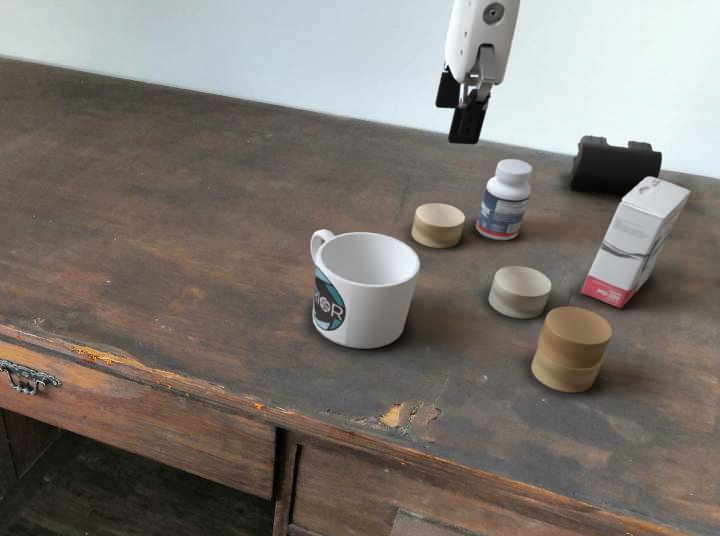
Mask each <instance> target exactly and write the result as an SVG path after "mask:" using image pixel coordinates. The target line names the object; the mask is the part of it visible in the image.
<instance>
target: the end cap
mask: <svg viewBox="0 0 720 536" xmlns="http://www.w3.org/2000/svg"><path fill="white" fill-rule="evenodd" d="M607 140H608V139H607V137H603V136H596V135H595V136H594V135H593V134H591V135H584V136H582V137H581V138H580V141H579V142H578V143H577V153H576V155H575V156H574V157H573V158H572V168H571V170H570V171H571V172H570V173H569V175H568V180H567V185H568V187H569V190H573V191H580V192H586V193H592V194H594V193H595V194H602V195H607V196H615V197H622V198H623V197H624V196H625V195H626V194H627V193H629V192H630V191H631V190H632V189H633V188H634V187H635V186H637V185H638V184H639V183H640V182H641V181H642V180H644V178H646V177H655V178H658V179H659V176H660V172H661V169H662V164H663V163H662V162H663V153H662V152H661V151H658V150H657V151H655V150H654V149H653V147H652V144H651V143H649V142H646V141H642V142H641V141H636V140H628V142H627V147H625V146H617V145H611V144H609V143H608V141H607Z"/></svg>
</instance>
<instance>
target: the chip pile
mask: <svg viewBox="0 0 720 536" xmlns="http://www.w3.org/2000/svg"><path fill="white" fill-rule="evenodd" d="M612 335H613V330H612V326H611V325H610V323H609V322H608V321H607V320H606V319H605V318H604V317H603V316H601V315H599V314H597V313H596V312H594V311H591V310H588V309H586V308H583V307H577V306H560V307H555V308H553V309H552V310H550V311H549V312H548V313H547V315H546V317H545V319H544V323H543V324H542V327H541V330H540V333H539V336H538V338H537V348H536V351H535V353H534V356H533V359H532V362H531V366H530V367H531V372H532V374H533V376H534V377H535V378H536V379H537V380H538V381H539V382H540V383H541V384H543V385H544V386H546V387H548V388H549V389H552V390H555V391H559V392H563V393H569V394H571V393H573V394H574V393H575V394H576V393H582V392H585V391H587V390H589V389H591V387H593V385H594V383H595V381H596V378H597V377H598V374H599V372H600V370H601V367H602V365H603V362H604V359H605V356H604V354H605V352H606V349H607V348H608V345H609V343H610V340H611V338H612Z"/></svg>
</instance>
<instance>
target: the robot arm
mask: <svg viewBox="0 0 720 536" xmlns="http://www.w3.org/2000/svg"><path fill="white" fill-rule="evenodd" d="M521 1H522V0H454V4H453V6H452V11H451V15H450V19H449V24H448V30H447V35H446V39H445V48H444V57H445V60H444V63H443V68H442V69H443V70H442V71H441V75H440V79H439V83H438V88H437V93H436V98H435V103H434V104H435V107H436V108H438V109H454V110H453V115H452V119H451V123H450V128H449V130H448V131H449V132H448V136H447V140H448V143H449V144H456V145H457V144H458V145H477V144H478V143H479V141H480V136H481V133H482V129H483V126H484V122H485V117H486V114H487V111H488V107H489V104H490V103H489V102H490V99H491V97H492V95H491V94H492V93H491V91H492V88H493V87H494V86H500V85H501V84H502V83H503V82H504V80H505V76H506V72H507V67H508V62H509V59H510V55H511V50H512V45H513V40H514V36H515V33H516V32H515V31H516V28H517V22H518V17H519V12H520V6H521ZM469 87H475V88H472V89H471V90H470V91H469Z"/></svg>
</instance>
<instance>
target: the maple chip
mask: <svg viewBox="0 0 720 536" xmlns="http://www.w3.org/2000/svg"><path fill="white" fill-rule="evenodd" d="M465 220H466V215H465V214H464V213H463V212H462V211H461V210H460V209H458V208H456V207H455V206H453V205H450V204H445V203H438V202H430V203H426V204H421V205H420V206H418V207H417V209H416V210H415V213H414V218H413V222H412V227H411V231H410V232H411V237H412V238H413V239H414V240H415V242H417V243H419V244H421V245H423V246H426V247H430V248H433V249H434V248H435V249H447V248H451V247H454V246H457V244H458V243H459V242H460V240H461V236H462V232H463V228H464V225H465Z"/></svg>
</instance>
